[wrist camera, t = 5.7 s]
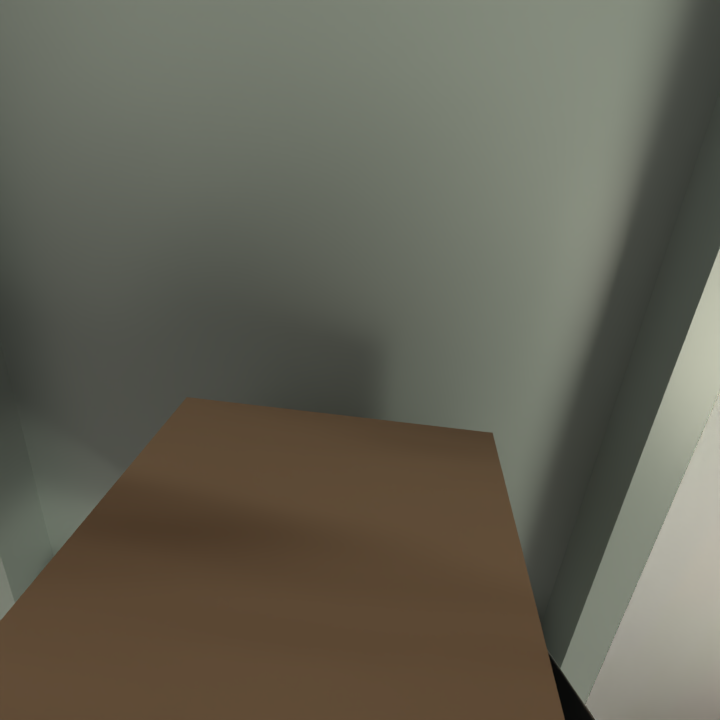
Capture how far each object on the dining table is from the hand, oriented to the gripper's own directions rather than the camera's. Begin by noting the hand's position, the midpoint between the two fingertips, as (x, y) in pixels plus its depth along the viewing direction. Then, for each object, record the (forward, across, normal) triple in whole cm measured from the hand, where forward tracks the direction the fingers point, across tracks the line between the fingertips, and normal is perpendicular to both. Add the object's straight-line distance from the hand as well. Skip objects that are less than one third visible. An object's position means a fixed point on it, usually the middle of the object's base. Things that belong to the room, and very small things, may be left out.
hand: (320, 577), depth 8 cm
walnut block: (+1, 0, 0) cm, 1 cm away
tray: (+4, +1, -3) cm, 5 cm away
